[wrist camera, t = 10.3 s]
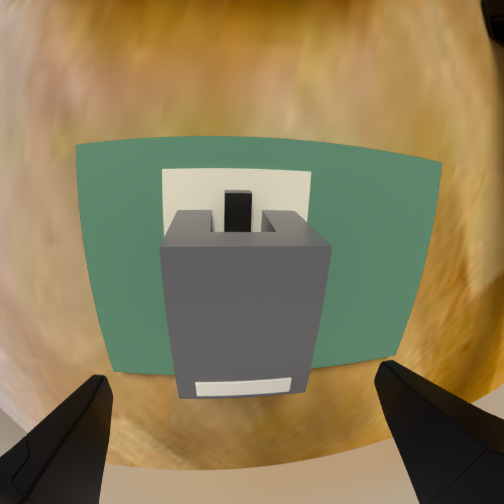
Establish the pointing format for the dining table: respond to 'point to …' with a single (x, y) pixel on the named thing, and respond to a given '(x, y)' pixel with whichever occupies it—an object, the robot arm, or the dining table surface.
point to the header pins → (237, 210)
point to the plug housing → (243, 304)
